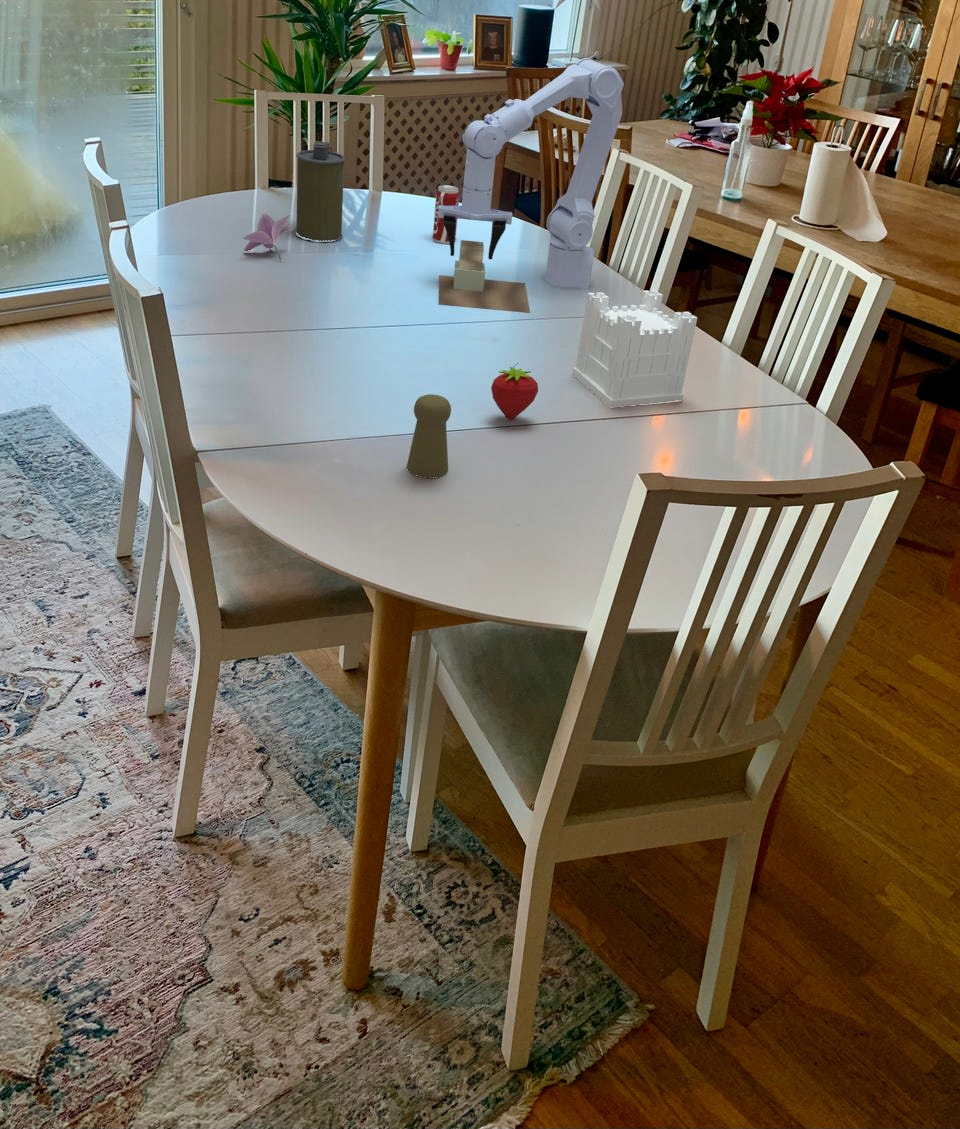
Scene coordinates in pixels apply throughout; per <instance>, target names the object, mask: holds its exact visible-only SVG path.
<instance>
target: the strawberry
mask: <svg viewBox="0 0 960 1129" xmlns="http://www.w3.org/2000/svg"><path fill="white" fill-rule="evenodd" d="M517 365H519V362H517V363H516V364H514V366H509V370H503V369H502V371H500V370H499V371H498V373H499V375H498V376H497V377H496V378H494V379H493V381H492V384H491V387H490V388H491V394H492V399H493V401H494V403H495V404H496V406H497V408H498V409H499V410H500V411H501V412H502V414H503V416H504V418H506V419H508V420H511V421H512V420H514V419H515V418H517V417H518V416H519V415H520V414H522V413H523V412H524V411H525V410H526V409H527V408H528V407H529V406H530V405H531V404H532V403H533V402H534V401H535V399H536V397H537V395H538V393H539V384H538V382H537V381H536V379H534V378H533V377H532V376H531V375H529V373H532V371H527V370H522V368H518V369H516V368H515V367H516V366H517Z"/></svg>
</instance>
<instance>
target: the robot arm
mask: <svg viewBox="0 0 960 1129" xmlns="http://www.w3.org/2000/svg"><path fill="white" fill-rule="evenodd" d="M620 75H621V74H619V71H617V69H616V68H614V67H613V66H609V65H605V64H603V63H600V62H597V61H595V60H594V59H592V58H589V57H585V58H581V59H580V60H578V61H577V62H575V63H573V64H571V65H569V66H567V67H566V68H565V70H564V71H563V72H562V73H560V75H558V76H557V77H556V78H554V79H552V81H550V82H549V83H547V84H546V85H544V86H543V87H542V88H540V89H539V90H537V91H536V92H535V93H534V94H531V96H529V97H528V98H527V99H525V100H521V99H518V98H515V99H510V98H509V99H507V100H506V101H505V102H504V104H505V105H504V106H502V107H501V108H499V109H498V110H496V111H495V112H493V113H492V114H489V113H488V114H486V115H484V119H483V120H481V119H480V120H479V119H478V120H474V121H472V122H470V123H469V124H468V125H467V127H466V129H465V131H464V133H462V135H461V136H462V138H461V139H462V143H463V145H464V146H465V148H466V155H465V164H464V175H463V188H462V198H461V205H459V206H441V205H439V212H438V218H444V226H445V228H446V231H447V235H448V238H449V243H450V244H449V248H450V250H449V251H450V256H452V257H454V256H455V242H454V240H455V241H456V239H455V229H456V230H457V228H456V218H457V220H459V219H460V220H468V221H469V220H470V221H481V222H491V232H490V234H491V236H490V242H489V248H488V256H487V257H488V260H493V258H494V257H493V256H494V253H495V250H496V247H497V246H498V243H499V241H500V239H501V237H502V236H503V235H504V232H505V231H506V227H507V226H506V225H512V221H513V212H512V211H504V210H499V209H494V208H491V206H492V198H493V197H492V196H493V189H494V188H493V186H494V176H495V169H496V158H497V157H496V156H497V155H499V154H500V152H501V150H502V149H503V146H504V144H506V143H507V142H509V141H511V140H512V139H514V138H515V137H517V136H518V135H520V134H521V133H523V132H525V131H526V130H528V129H529V128H531V126H532V124H533V121H534V118H535V117H536V116H538V115H540V114H541V113H543V112H545V111H548V110H549V109H551V108H553V107H554V106H556V105H558V104H559V103H562V102H563V101H565V100H567V99H568V98H576V99H584V100H585V102H586V105H587V107H588V108H589V110H590V113H591V114H592V116H591V120H590V122H589V125H588V127H587V131H586V133H585V134H586V135H585V137H584V140H583V143H582V146H581V150H580V151H579V154H578V158H577V160H576V165H575V168H574V170H573V173H572V176H571V179H570V182H569V184H568V187H567V190H566V193H565V194H563V195H562V196H561V197H559V198H558V199H557V201H556V205H555V207H554V208H553V209H552V210H551V212H550V213H549V214H548V216H547V220H546V228H547V231H548V233H549V234H550V238H549V239H550V240H549V246H548V247H549V248H548V254H547V262H546V269H545V275H544V276H545V277H544V282H545V283H546V284H548V285H549V286H553V287H556V288H562V289H563V288H564V289H580V290H581V289H582V290H583V289H584V290H589V289H590V283H591V279H592V278H591V276H592V270H593V265H594V264H593V263H594V248H593V247H591V246H587V245H588V244H589V243H590V241H591V239H592V237H593V233H594V232H593V231H594V230H593V229H594V228H593V223H594V220H595V217H596V216H595V210H594V208H593V203H592V202H593V199H594V197H595V193H596V190H597V187H598V185H599V182H600V179H601V177H602V173H603V171H604V167H605V165H606V162H607V159H608V156H609V152H610V150H611V147H612V145H613V142H614V138H615V137H616V133H617V131H618V128H619V124H620V121H621V119H622V116H623V101H622V99H623V98H622V91H623V90H624V89H623V88H624V85H625V83H624V81H623V79H622V78H621V76H620Z"/></svg>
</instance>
